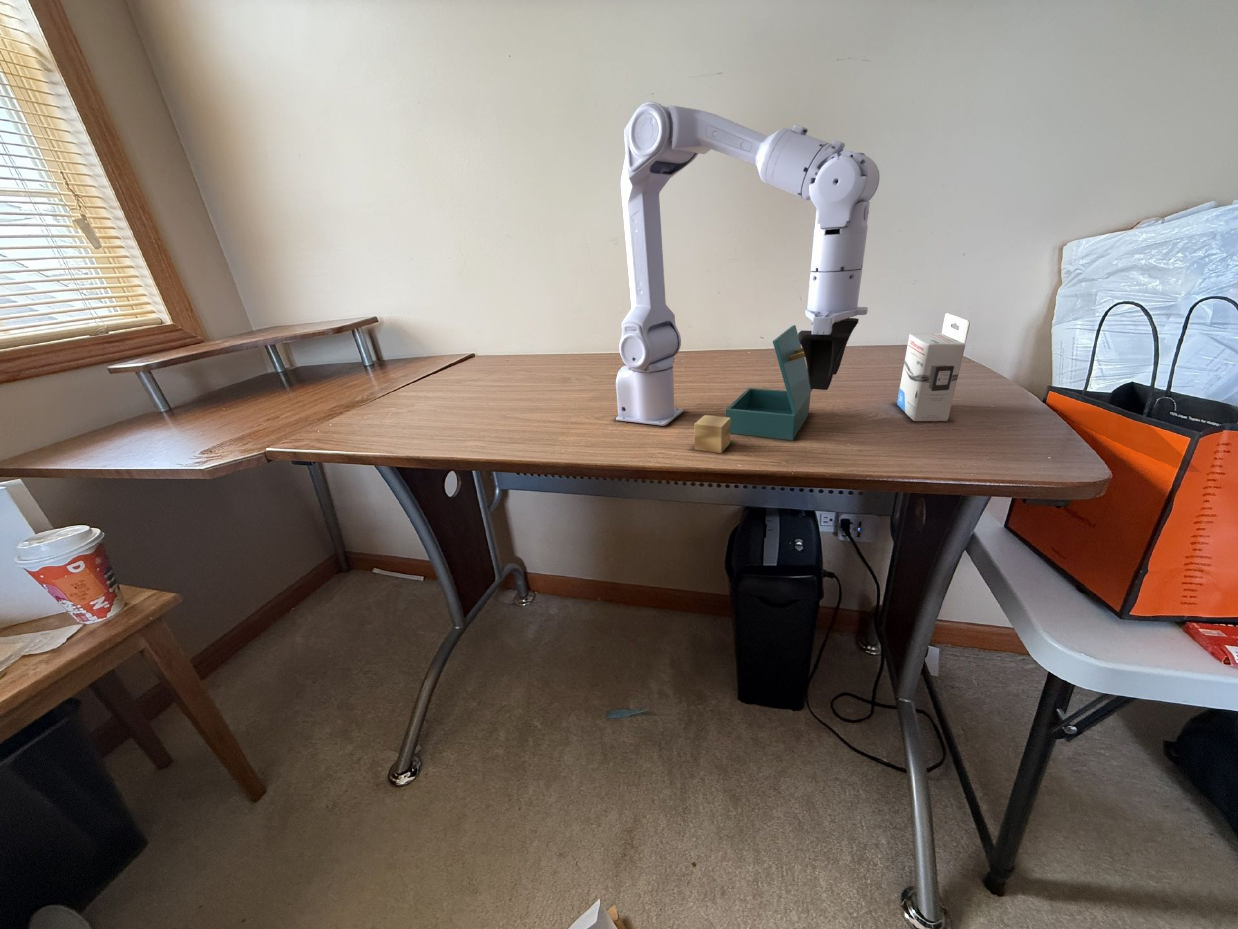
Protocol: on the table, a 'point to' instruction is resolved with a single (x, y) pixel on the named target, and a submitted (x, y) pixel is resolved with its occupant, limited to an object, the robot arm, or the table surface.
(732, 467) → the table surface
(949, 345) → the ink box
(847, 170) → the robot arm
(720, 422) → the block
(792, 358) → the chest lid
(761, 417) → the chest
